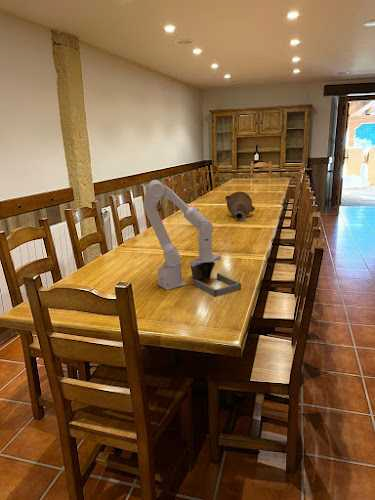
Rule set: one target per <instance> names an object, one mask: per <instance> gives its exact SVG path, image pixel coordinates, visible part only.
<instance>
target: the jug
mask: <svg viewBox="0 0 375 500" xmlns="http://www.w3.org/2000/svg"><path fill="white" fill-rule="evenodd" d="M224 200H225V202H226V207H227V211H228V212H229V213H230V215H231V216H233V217H234V218H235V219H236V220H239V221H240V222H243V223H244V221H246V220H247V216H248V215H249V214H251V213H253V212H254V211H255V206H253V200H252V198H251V196H250V194H248V193H247V192H244V191H235V192H233V193H231V194H230V195H226V196H225V199H224Z"/></svg>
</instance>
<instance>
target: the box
mask: <svg viewBox="0 0 375 500" xmlns="http://www.w3.org/2000/svg"><path fill="white" fill-rule="evenodd" d="M190 270H191V274H192V275H191V276H192V279H193V280H194V279H196V280H198V279H199V280H200V279H204V278H203V275H202V272H201V270H200V268H199V266H198V265H195V266H190ZM211 275H212V274H211ZM211 275H210V277H211Z"/></svg>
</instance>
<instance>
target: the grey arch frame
mask: <svg viewBox="0 0 375 500" xmlns="http://www.w3.org/2000/svg"><path fill="white" fill-rule="evenodd" d="M216 280H218V281H221V282H222V283H225V284H227V286H224V287H220V288H216V289H215V288H214V287H211V286H210V285H208V284H207V283H203V282H202V281H200V280H198V279H194V278H193V285H194V286H195V287H197V288H199V289H201V290H202V291H205V292H206V293H208V294H210V295H212V296H214V297H218V296H219V297H220V296H222V295H226V294H229V293H232V292H233V293H234V292H236V291H239V290H241V289H242V283H241V282H238V281H236V280H234V279H233V278H230V277H228V276H226V275H224V274H221V273H219V272H217V273H216Z"/></svg>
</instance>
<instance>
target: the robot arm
mask: <svg viewBox="0 0 375 500" xmlns="http://www.w3.org/2000/svg"><path fill="white" fill-rule="evenodd" d="M143 198H144V199H143V204H142V206H143V209H144V211H145V214H146V217H147V218H148V220H149V223H150V225H151V227H152V229H153V231H154V233H155V235H156V238H157V240H158V241H159V245H160V246H161V248H162V251H163V258H164V262H163V265H162V266H159V267H158V268H157V279H158V283H157V285H158V286H159V287H160V288H162V289H165V290H166V291H168V290H172V289H175V288H180V287H184V286H186V285H187V283H185V282H184V281H183V279H182V277H183V275H182V274H183V273H182V262H181V260H182V258H181V255H180V253H179V250H178V249H177V248H176V247H175V246H174V244H173V242H172V240H171V238H170V236H169V234H168V231H167V229H166V227H165V225H164V222H163V220H162V218H161V216H160V214H159V211H158V210H157V205H158V203H159V201H160V200H161V199H162V200H163V199H164V200H169V201H170V202H171V203H173V205H175V206H176V207H177V208H178V209H179V210H180V211H181V212H182V213H183V217H184V219H185V220H186V221H187V222H189V224H191V225H192V226H193V227H195V228H196V230H197V231H198V232H197V233H198V258H195V259H193V260H190V261H189V264H190V265H189V266H190V267H191V266H195V265H198V266H199V268H200V270H201V272H202V275H203V278H202V279H203V280H205V281H207V280H210V279H211V276H210V275H212V272H213V269H214V267H215V266H216V263H215V262H216V261H222V255H221V254H214V253H213V237H212V236H213V235H212V233H213V231H214V226H213V223H212V222H210V221H209V219H208V218H207V216H205V215H203V214H202V213H201V212H200V211H199V208H198V207H195V206H189V205H188V204H187V203H185V201H184V200H183V199H181V197H180V196H178V194H176V193H175V192H174V191H173V189H171V188H170V187H168V186H167V185H166V184H163V182H162V181H160V180H158V179H153V180H152V179H151V180H150V182H148V185H147V186H146V188H145V191H144V197H143ZM213 254H214V255H213ZM214 261H215V262H214Z"/></svg>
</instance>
